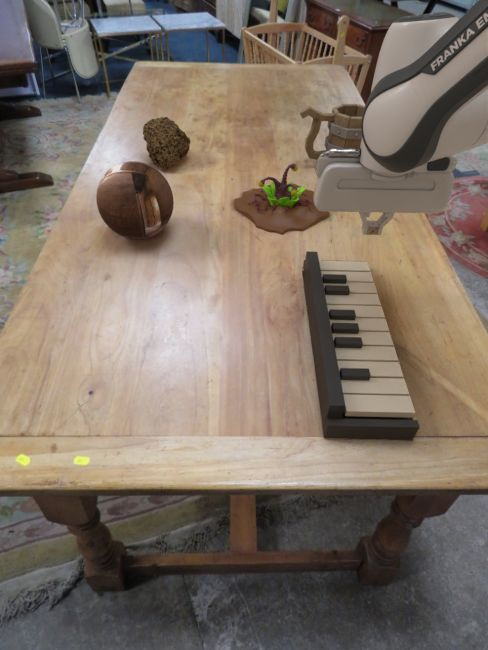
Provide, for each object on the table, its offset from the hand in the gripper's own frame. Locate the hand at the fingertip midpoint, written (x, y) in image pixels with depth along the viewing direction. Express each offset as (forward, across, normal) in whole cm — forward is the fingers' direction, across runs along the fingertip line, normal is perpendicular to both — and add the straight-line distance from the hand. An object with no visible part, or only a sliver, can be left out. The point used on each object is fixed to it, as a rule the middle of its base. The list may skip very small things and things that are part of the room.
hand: (370, 233), depth 72 cm
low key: (+9, -3, +2) cm, 10 cm away
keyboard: (+12, -4, -13) cm, 18 cm away
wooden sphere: (+12, -43, +17) cm, 48 cm away
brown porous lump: (+12, -43, +53) cm, 69 cm away
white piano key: (+9, -2, -28) cm, 30 cm away
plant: (+12, -13, +27) cm, 32 cm away
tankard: (+12, +1, +53) cm, 54 cm away
